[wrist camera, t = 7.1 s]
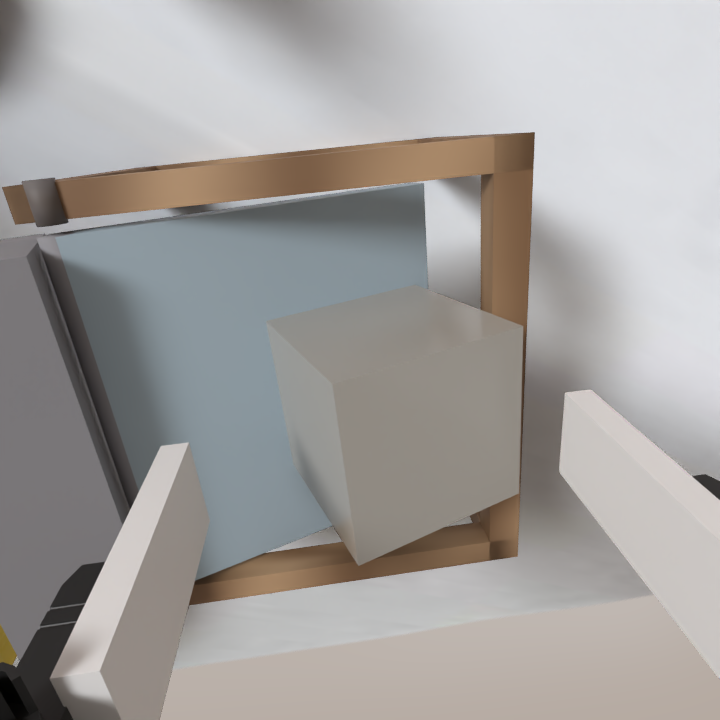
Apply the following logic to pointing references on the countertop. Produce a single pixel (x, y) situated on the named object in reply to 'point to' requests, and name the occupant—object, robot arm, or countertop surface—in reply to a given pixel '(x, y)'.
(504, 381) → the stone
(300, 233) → the trapdoor
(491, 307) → the trapdoor frame
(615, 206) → the countertop surface
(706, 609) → the robot arm
